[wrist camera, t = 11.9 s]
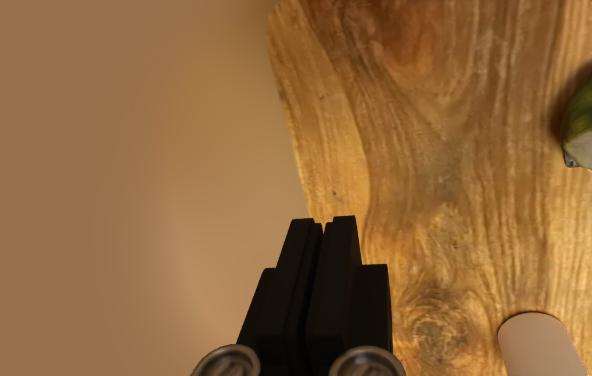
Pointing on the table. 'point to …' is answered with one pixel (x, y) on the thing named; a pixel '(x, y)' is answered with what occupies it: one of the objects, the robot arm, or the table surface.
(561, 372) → the can
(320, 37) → the table surface
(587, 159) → the fruit
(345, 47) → the table surface
